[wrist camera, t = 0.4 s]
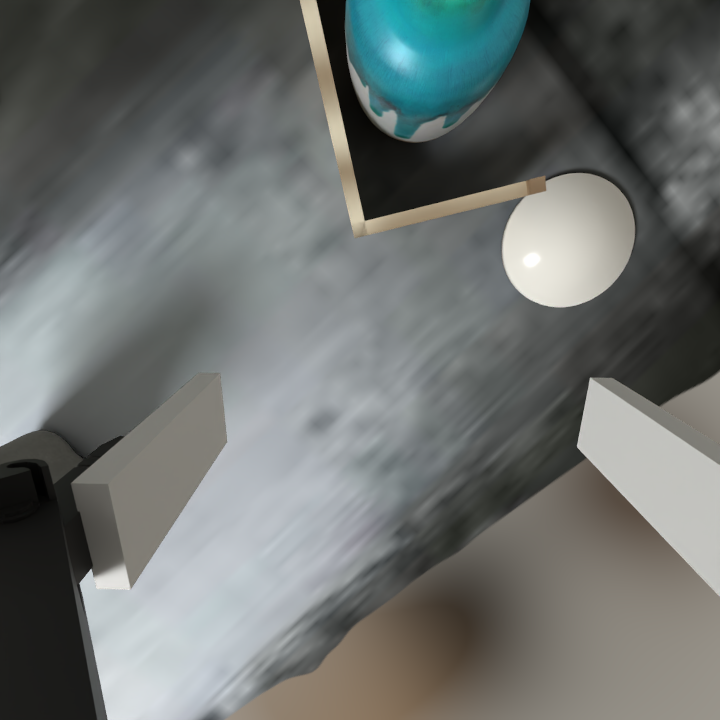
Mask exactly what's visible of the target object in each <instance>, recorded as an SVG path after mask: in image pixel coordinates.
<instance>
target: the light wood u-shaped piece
mask: <svg viewBox="0 0 720 720" xmlns="http://www.w3.org/2000/svg"><path fill="white" fill-rule="evenodd" d="M300 3H301V7H302V12H303V16H304V20H305V25H306V29H307V33H308V38H309V42H310V46H311V51H312V55H313V59H314V64H315V68H316V72H317V77H318V81H319V86H320V90H321V94H322V99H323V103H324V107H325V112H326V116H327V120H328V125H329V129H330V133H331V138H332V142H333V147H334V151H335V155H336V160H337V164H338V168H339V173H340V177H341V181H342V186H343V190H344V194H345V199H346V203H347V207H348V212H349V216H350V221H351V225H352V229H353V234H354V238H358V237H362V236H366V235H370V234H374V233H378V232H382V231H386V230H390V229H394V228H398V227H402V226H406V225H411V224H415V223H419V222H423V221H427V220H431V219H435V218H439V217H443V216H447V215H451V214H455V213H459V212H463V211H467V210H471V209H475V208H480V207H484V206H488V205H492V204H496V203H500V202H504V201H508V200H512V199H516V198H520V197H524V196H528V195H532V194H536V193H540V192H544V191H546V181H545V176H542V177H538V178H534V179H530V180H527V181H523V182H519V183H515V184H511V185H507V186H503V187H499V188H495V189H491V190H487V191H483V192H479V193H475V194H471V195H467V196H463V197H459V198H455V199H451V200H447V201H443V202H439V203H435V204H431V205H427V206H423V207H419V208H415V209H411V210H407V211H403V212H399V213H395V214H391V215H387V216H383V217H379V218H375V219H371V220H367V221H365V219H364V215H363V210H362V206H361V201H360V197H359V192H358V187H357V183H356V178H355V174H354V169H353V165H352V160H351V156H350V151H349V147H348V142H347V137H346V133H345V128H344V124H343V119H342V115H341V110H340V106H339V101H338V97H337V92H336V88H335V83H334V78H333V74H332V69H331V65H330V60H329V56H328V51H327V47H326V42H325V38H324V33H323V28H322V24H321V19H320V15H319V10H318V6H317V1H316V0H300Z"/></svg>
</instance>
